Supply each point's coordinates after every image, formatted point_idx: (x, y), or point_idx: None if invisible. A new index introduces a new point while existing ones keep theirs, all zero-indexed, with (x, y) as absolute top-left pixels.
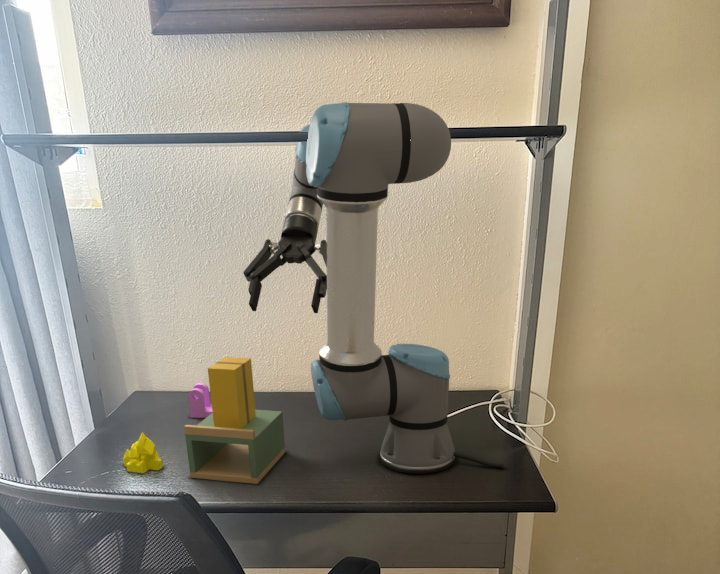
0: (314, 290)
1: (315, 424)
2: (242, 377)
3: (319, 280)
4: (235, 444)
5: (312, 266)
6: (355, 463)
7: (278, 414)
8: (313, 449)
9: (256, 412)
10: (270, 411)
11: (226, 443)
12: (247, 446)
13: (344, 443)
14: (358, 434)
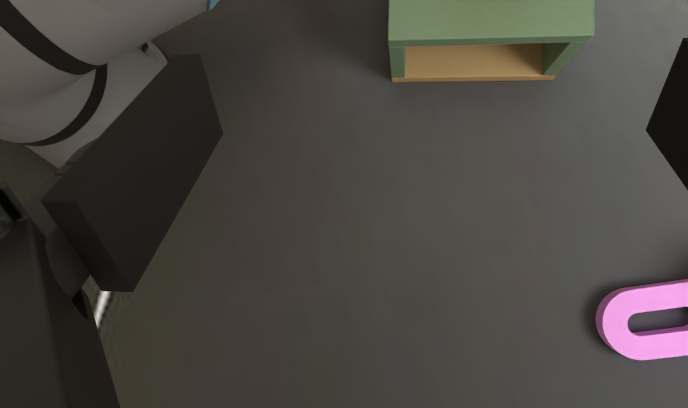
0: (141, 120)
1: (372, 272)
2: None
3: (54, 185)
4: (519, 68)
5: (55, 368)
6: (227, 59)
7: (390, 13)
8: (333, 113)
9: (460, 15)
10: (421, 31)
11: (542, 61)
12: (483, 62)
13: (272, 161)
14: (252, 222)
